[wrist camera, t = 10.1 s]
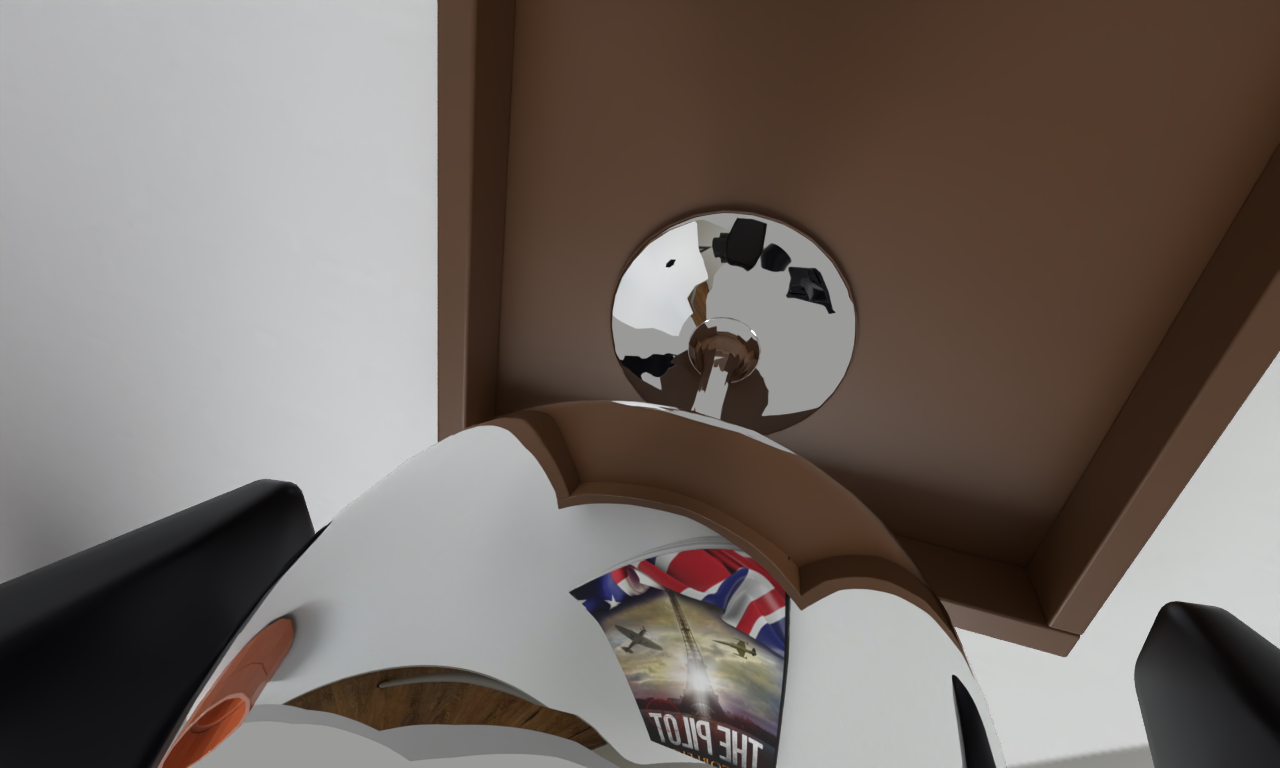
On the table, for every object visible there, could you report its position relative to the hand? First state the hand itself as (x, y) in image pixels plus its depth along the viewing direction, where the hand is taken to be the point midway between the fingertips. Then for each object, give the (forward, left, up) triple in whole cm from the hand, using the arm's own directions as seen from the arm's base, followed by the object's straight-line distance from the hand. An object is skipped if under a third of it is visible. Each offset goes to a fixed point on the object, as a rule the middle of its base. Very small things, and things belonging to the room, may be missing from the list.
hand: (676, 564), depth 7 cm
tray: (+2, -1, -7) cm, 7 cm away
